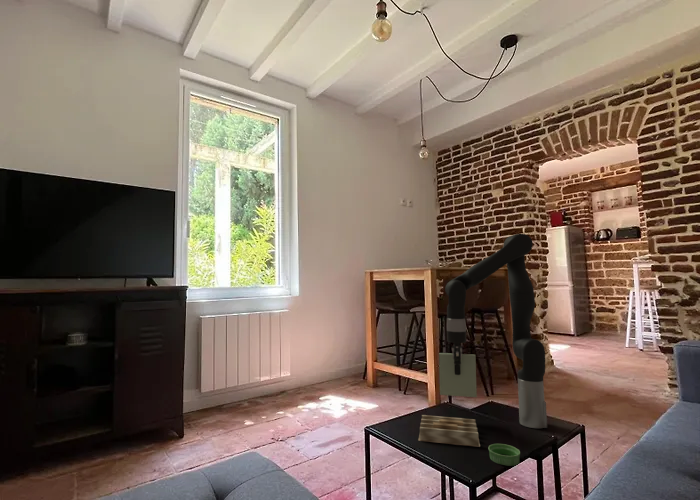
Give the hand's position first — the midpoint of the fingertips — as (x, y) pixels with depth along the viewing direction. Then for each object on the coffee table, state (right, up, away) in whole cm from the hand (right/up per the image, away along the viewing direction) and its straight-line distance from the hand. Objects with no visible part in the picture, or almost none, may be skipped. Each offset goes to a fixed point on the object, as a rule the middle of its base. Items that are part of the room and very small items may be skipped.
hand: (457, 373), depth 149 cm
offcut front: (-10, -15, -22) cm, 29 cm away
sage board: (0, -8, -1) cm, 8 cm away
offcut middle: (-7, -16, -18) cm, 25 cm away
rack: (-8, -17, -18) cm, 26 cm away
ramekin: (+4, -16, -36) cm, 40 cm away
